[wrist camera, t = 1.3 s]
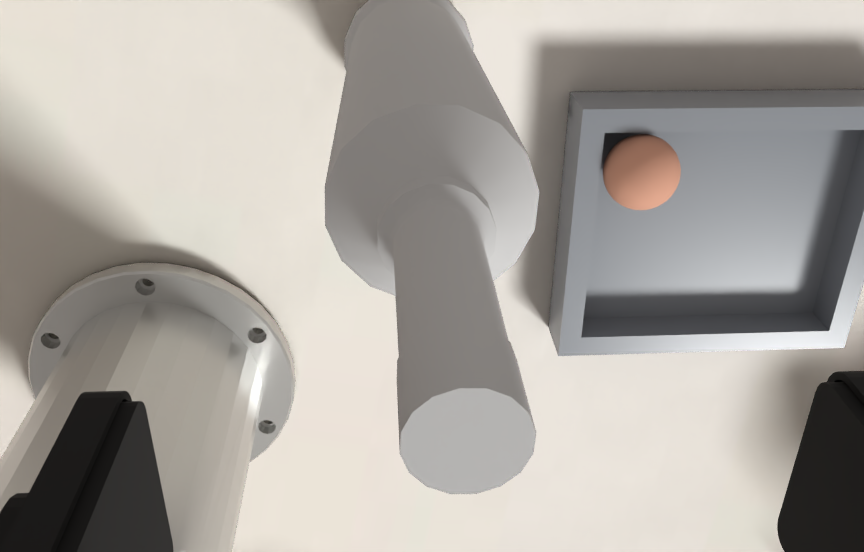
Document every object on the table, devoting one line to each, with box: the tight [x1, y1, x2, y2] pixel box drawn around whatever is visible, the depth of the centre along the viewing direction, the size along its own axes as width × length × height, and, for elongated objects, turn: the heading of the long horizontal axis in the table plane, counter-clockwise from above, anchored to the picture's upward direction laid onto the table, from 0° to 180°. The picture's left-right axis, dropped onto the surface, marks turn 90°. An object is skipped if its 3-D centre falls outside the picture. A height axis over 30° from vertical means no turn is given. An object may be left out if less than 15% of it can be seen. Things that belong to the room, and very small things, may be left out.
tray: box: [549, 89, 864, 356], centre depth 38 cm, size 12×14×2 cm
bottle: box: [325, 0, 540, 494], centre depth 23 cm, size 5×5×25 cm
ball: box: [603, 134, 681, 210], centre depth 35 cm, size 3×3×3 cm
